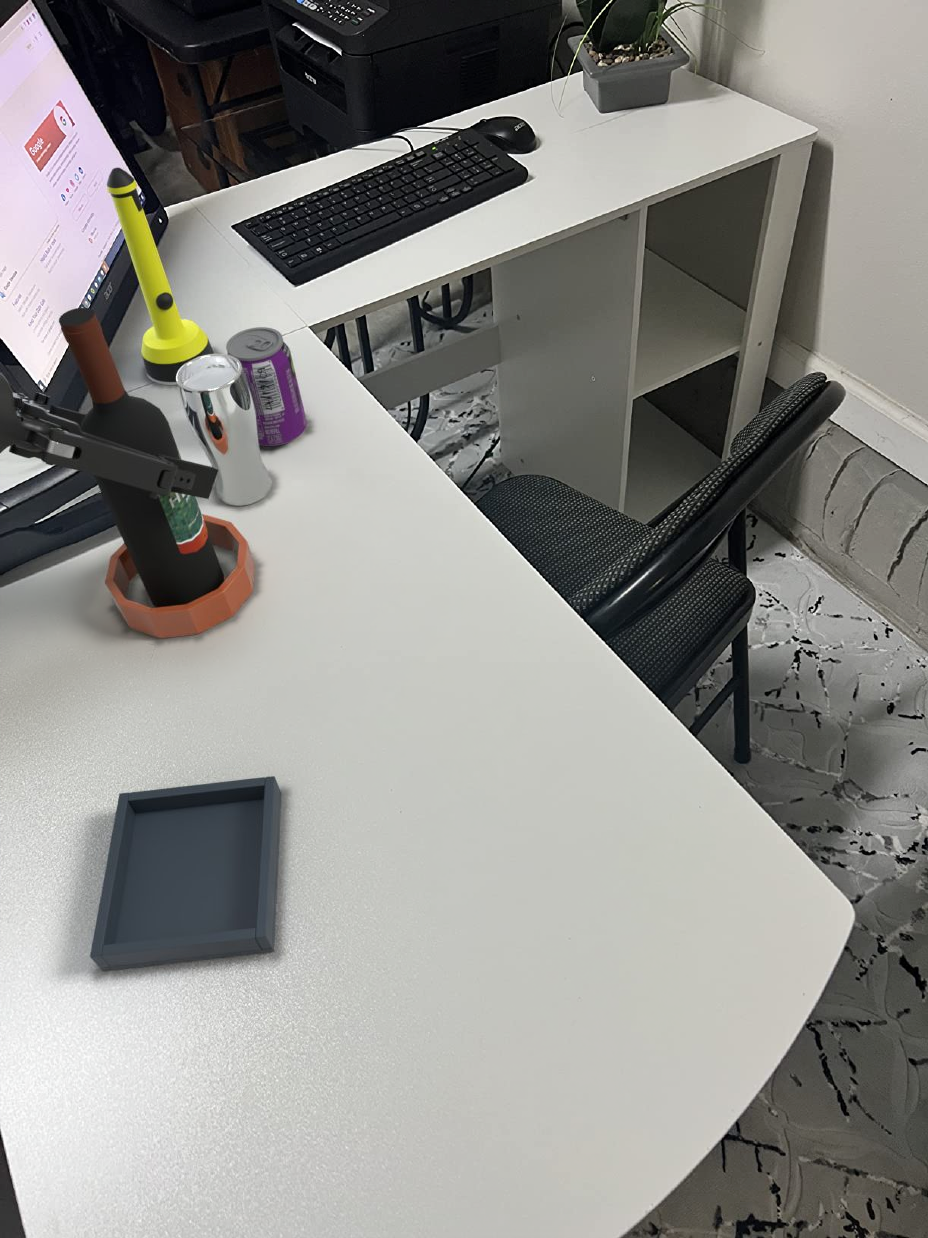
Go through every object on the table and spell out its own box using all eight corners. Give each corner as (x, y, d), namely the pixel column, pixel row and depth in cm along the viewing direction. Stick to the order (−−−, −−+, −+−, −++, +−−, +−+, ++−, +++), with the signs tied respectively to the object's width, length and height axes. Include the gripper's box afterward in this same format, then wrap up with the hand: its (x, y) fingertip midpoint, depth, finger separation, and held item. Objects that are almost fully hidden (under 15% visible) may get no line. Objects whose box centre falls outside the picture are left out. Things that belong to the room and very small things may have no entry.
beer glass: (289, 480, 107) (258, 363, 96) (246, 516, 103) (209, 399, 92) (243, 461, 110) (208, 345, 99) (200, 495, 106) (159, 379, 95)
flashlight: (62, 168, 107) (93, 194, 102) (137, 144, 110) (170, 167, 105) (135, 363, 126) (164, 393, 120) (197, 338, 129) (227, 365, 124)
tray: (102, 971, 70) (89, 957, 68) (129, 810, 80) (119, 793, 78) (274, 952, 70) (266, 936, 69) (281, 792, 80) (274, 775, 78)
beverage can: (319, 421, 114) (299, 330, 105) (287, 456, 110) (264, 365, 101) (269, 409, 117) (245, 319, 108) (236, 443, 112) (208, 353, 103)
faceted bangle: (90, 614, 95) (77, 590, 93) (173, 527, 103) (163, 502, 101) (202, 653, 91) (192, 628, 88) (279, 558, 99) (272, 533, 96)
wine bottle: (155, 563, 100) (39, 296, 77) (227, 556, 99) (132, 287, 77) (143, 617, 94) (16, 348, 72) (220, 609, 94) (116, 337, 72)
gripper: (-173, 405, 74) (58, 454, 93) (28, 515, 63) (243, 546, 82) (-147, 310, 73) (81, 379, 92) (62, 406, 62) (271, 462, 81)
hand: (158, 458), depth 87 cm, fingers open, 13 cm apart
